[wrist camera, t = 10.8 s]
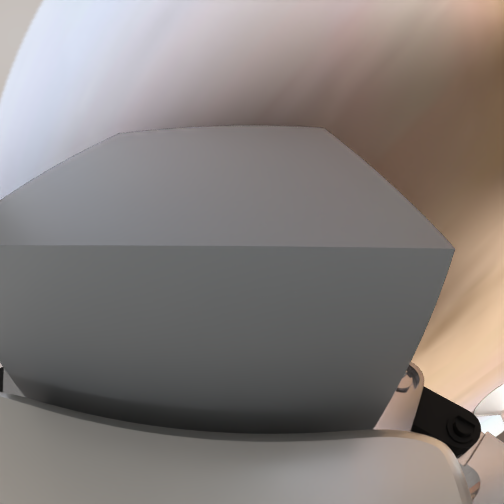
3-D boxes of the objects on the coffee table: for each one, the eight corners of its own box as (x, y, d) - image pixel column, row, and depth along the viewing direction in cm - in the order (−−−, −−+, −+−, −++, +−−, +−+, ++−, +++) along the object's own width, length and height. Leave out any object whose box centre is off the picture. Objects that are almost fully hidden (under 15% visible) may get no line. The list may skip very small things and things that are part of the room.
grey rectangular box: (118, 133, 11) (-60, 246, 3) (323, 127, 11) (455, 248, 3) (159, 345, 17) (118, 492, 9) (301, 349, 16) (316, 507, 9)
